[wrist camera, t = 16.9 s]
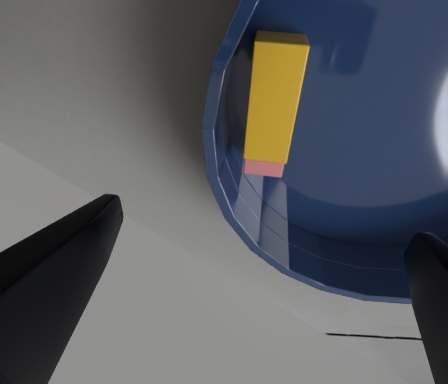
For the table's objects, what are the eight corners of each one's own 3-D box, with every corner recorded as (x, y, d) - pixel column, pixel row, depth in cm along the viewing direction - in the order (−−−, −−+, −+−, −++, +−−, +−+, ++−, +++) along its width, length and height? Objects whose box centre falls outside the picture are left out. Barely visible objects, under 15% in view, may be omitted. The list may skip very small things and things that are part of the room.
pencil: (282, 157, 19) (283, 179, 17) (244, 153, 20) (241, 174, 18) (306, 33, 15) (310, 45, 13) (256, 29, 15) (253, 40, 13)
